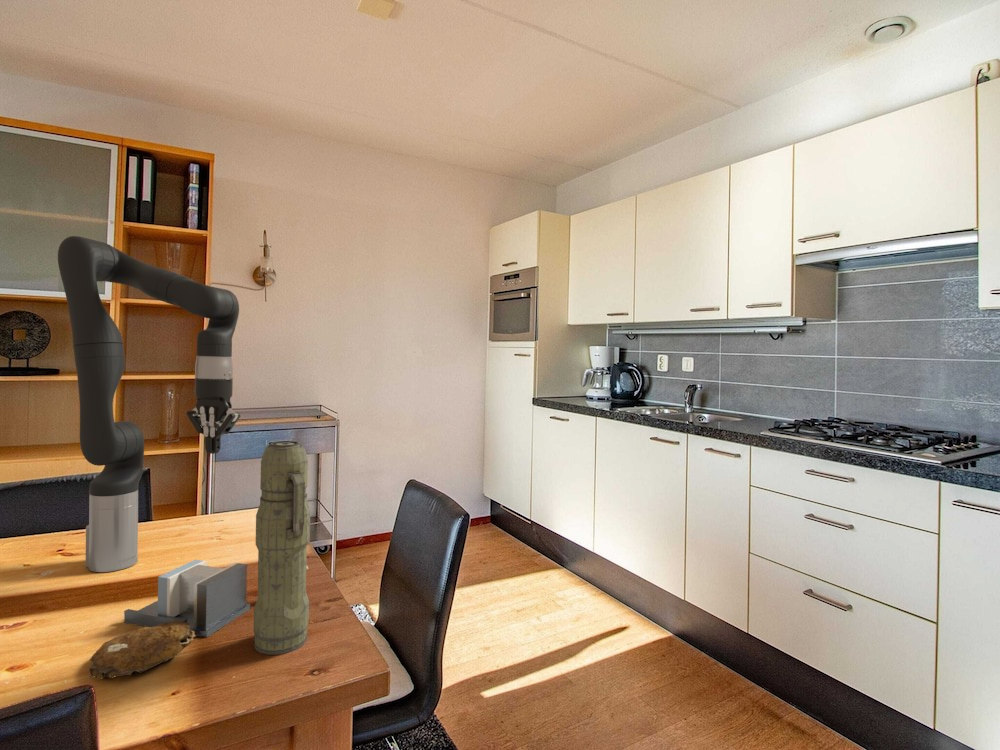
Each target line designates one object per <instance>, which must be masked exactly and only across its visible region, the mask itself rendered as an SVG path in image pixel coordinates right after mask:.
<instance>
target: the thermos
mask: <svg viewBox="0 0 1000 750" xmlns="http://www.w3.org/2000/svg"><path fill="white" fill-rule="evenodd" d="M307 455H308V454H307V452H306V448H305V445H304V444H303V443H300V442H299V441H293V440H292V441H291V440H283V441H273V442H270V444H267V445H266V446H265V448H264V452H263V454H262V458H261V460H260V490H261V496H260V497H259V505H258V506H259V507H258V509H257V511H256V513H255V514H256V515H255V547H256V549H257V551H258V552H257V560H258V561H257V599H256V602H255V605H254V608H253V634H254V644H253V645H254V646H253V647H254V649H255V650H256V651H257V652H258V653H260V654H263V655H268V656H269V655H273V656H276V655H284V654H287V653H290V652H293V651H296V650H297V649H299V648H301V647H302V646H304V645H305V643H306V642H307V640H308V626H309V619H310V618H309V616H310V615H309V613H310V611H309V609H310V600H309V597H308V595H307V571H306V564H307V557H308V556H307V554H308V544H309V543H310V539H311V508H310V505H309V503H308V493H307V488H308V470H309V469H308V468H309V466H308V465H309V463H308V462H309V459H308V456H307Z"/></svg>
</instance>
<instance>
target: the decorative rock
mask: <svg viewBox="0 0 1000 750" xmlns="http://www.w3.org/2000/svg"><path fill="white" fill-rule="evenodd" d="M195 637H197V636H196V635H194V631H193V630H191V629H190V626H189V623H184V622H179V621H173V622H167V623H163V624H160V625H156V626H154V627H145V626H142V627H141V628H138V629H135V630H133V629H132V630H131V631H129V632H125V633H122V634H120V635H117V636H115V637H113V638H111V639H110V640H107V641H105V642H103V644H102V645H101V646H100V647H99V648H98V649H97V650H96V651H95V653H93V655H91V658H89V660H90V661H91V662H92V664H91V665H90V668H89V677H90V678H95V677H96V679H97V680H98V681H99V680H102V679H101V678H103V679H104V678H105V677H106V679H107V678H110V679H113V678H115V677H114V676H116V677H125V676H127V675H129V676H130V677H132V673H133V671H134V672H138V673H140V674H142V673H144V672H145V671H147V670H149V669H151V668H153V667H156V666H157V665H159V664H163V663H166V662H167V661H168V660H170V659H173V658H174V657H176V656H177V655H178V654H179V653H180V652H182V650H183V649H184V647H185V645H186V646H188V645H190V644H191V642H192V641H193V640H194V638H195ZM124 675H125V676H124ZM94 676H95V677H94ZM112 677H113V678H112Z"/></svg>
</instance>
